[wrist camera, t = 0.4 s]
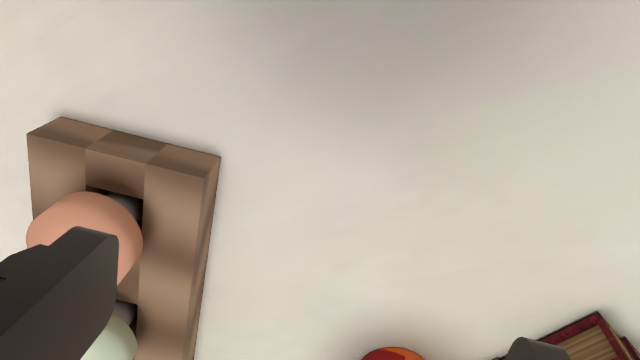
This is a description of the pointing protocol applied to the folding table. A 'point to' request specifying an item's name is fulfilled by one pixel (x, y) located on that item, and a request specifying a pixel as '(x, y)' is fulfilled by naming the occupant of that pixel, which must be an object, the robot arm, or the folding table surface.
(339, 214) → the folding table surface
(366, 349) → the folding table surface
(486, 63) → the folding table surface
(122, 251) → the terracotta button
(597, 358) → the decorative book
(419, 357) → the paper cup
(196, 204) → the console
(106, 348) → the sage button
